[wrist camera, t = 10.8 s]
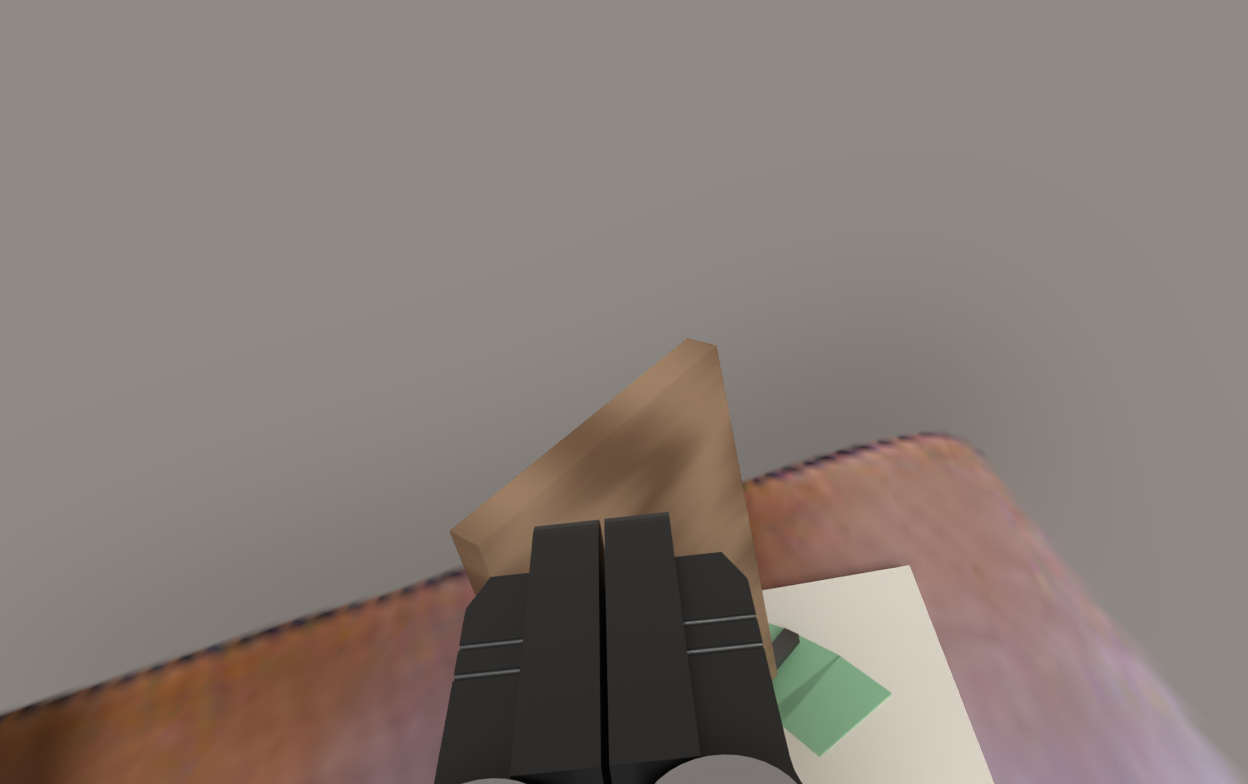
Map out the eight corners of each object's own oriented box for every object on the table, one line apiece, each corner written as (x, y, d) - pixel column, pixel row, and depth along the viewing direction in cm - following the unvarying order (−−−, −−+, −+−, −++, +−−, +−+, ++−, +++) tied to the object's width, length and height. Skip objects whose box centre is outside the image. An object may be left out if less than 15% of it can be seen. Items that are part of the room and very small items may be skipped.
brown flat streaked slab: (548, 1034, 31) (371, 696, 22) (460, 950, 34) (272, 622, 25) (838, 661, 40) (792, 324, 32) (751, 621, 43) (686, 301, 35)
